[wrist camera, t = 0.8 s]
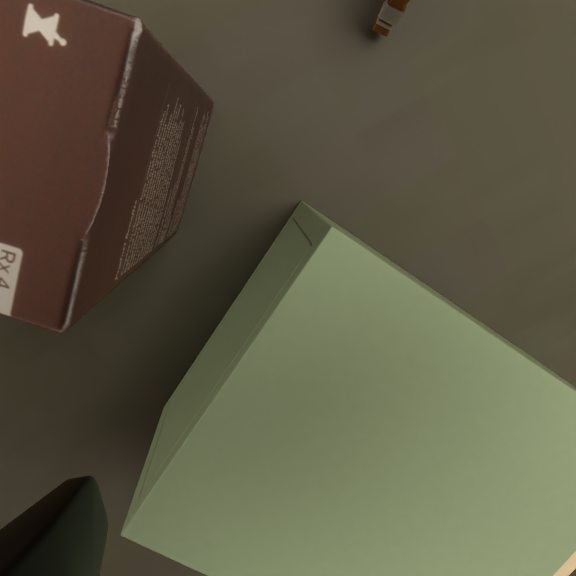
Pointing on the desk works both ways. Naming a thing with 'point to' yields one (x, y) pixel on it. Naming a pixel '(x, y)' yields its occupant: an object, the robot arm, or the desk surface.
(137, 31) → the box
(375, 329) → the green drawer cabinet
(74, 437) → the desk surface
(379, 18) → the wooden post with brackets
